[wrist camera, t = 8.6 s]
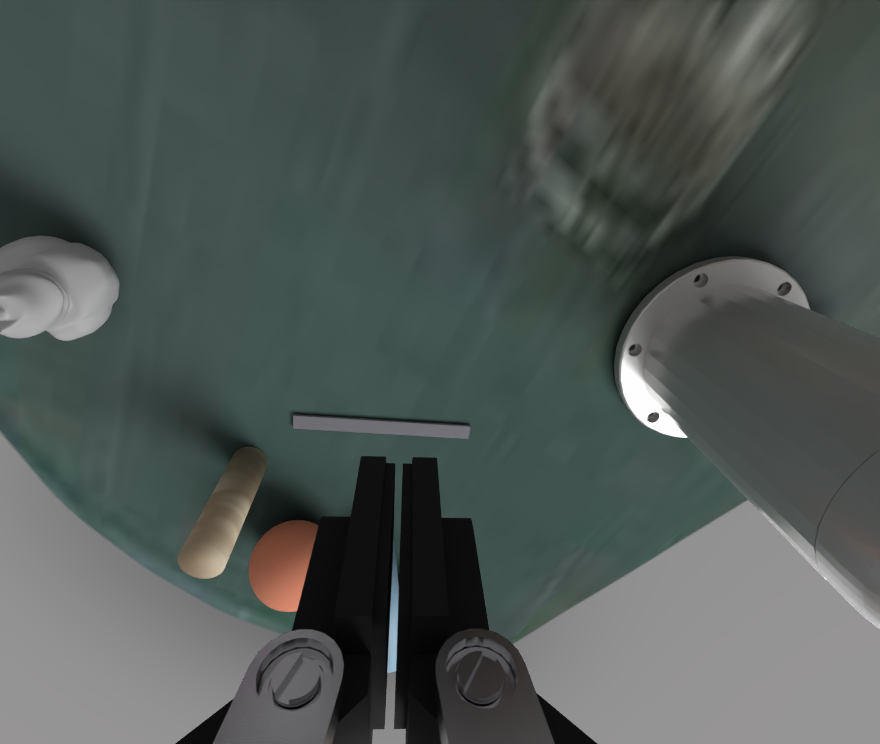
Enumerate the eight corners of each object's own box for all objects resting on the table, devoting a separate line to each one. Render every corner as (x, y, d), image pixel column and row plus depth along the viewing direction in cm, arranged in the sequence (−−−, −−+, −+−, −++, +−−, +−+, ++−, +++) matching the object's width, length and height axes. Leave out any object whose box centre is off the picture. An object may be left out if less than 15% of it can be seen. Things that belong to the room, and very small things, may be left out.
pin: (396, 535, 35) (409, 667, 34) (390, 531, 37) (402, 654, 36) (363, 541, 34) (375, 676, 33) (359, 536, 37) (370, 662, 35)
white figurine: (156, 303, 28) (71, 357, 21) (57, 339, 29) (-58, 404, 22) (98, 213, 26) (-18, 239, 19) (-7, 254, 27) (-160, 295, 19)
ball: (368, 560, 35) (321, 605, 30) (315, 596, 37) (262, 645, 32) (322, 492, 36) (268, 524, 30) (273, 532, 38) (214, 568, 32)
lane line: (470, 425, 33) (470, 426, 33) (468, 437, 34) (468, 438, 34) (293, 414, 32) (293, 415, 32) (293, 426, 33) (293, 428, 32)
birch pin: (267, 447, 33) (223, 545, 25) (268, 475, 34) (226, 579, 26) (231, 445, 33) (175, 544, 25) (233, 474, 34) (180, 578, 26)
